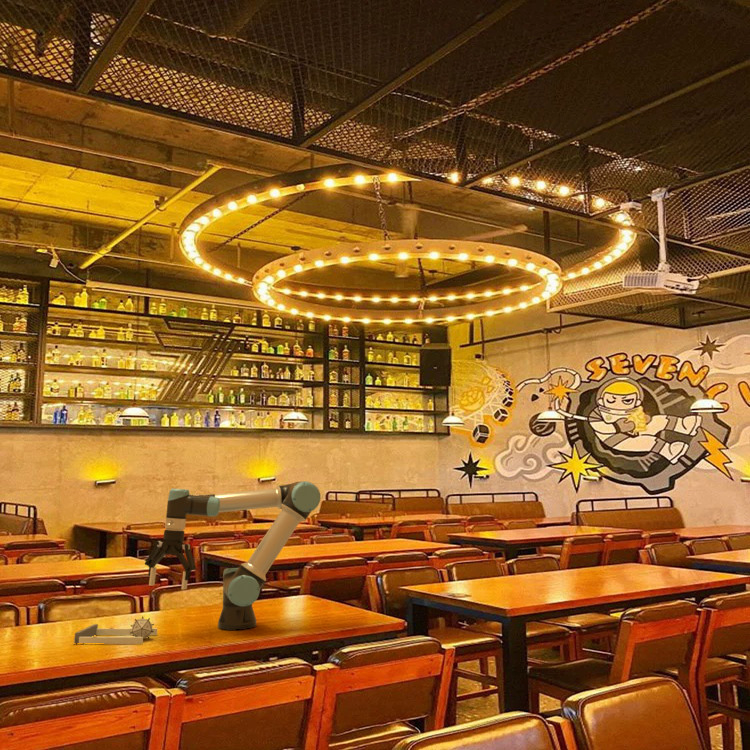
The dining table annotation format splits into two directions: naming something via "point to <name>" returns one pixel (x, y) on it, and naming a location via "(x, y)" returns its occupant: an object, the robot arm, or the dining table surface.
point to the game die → (142, 628)
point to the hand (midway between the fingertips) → (167, 587)
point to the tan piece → (92, 630)
